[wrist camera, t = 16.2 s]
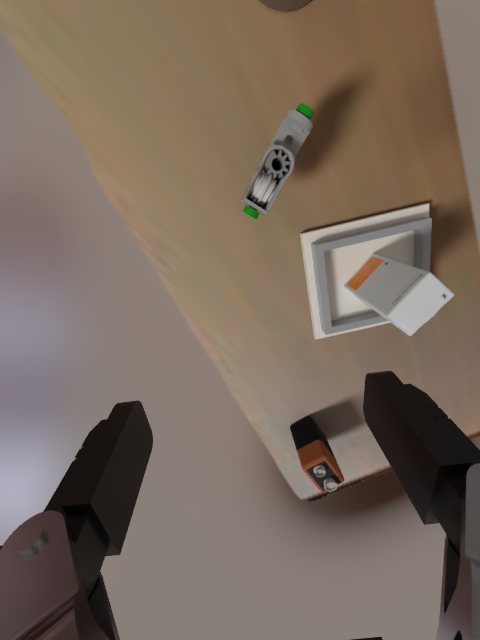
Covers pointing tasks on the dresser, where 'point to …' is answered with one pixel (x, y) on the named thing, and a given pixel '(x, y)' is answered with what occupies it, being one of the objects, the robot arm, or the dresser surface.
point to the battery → (316, 455)
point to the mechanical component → (278, 161)
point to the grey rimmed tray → (359, 263)
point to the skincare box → (399, 292)
